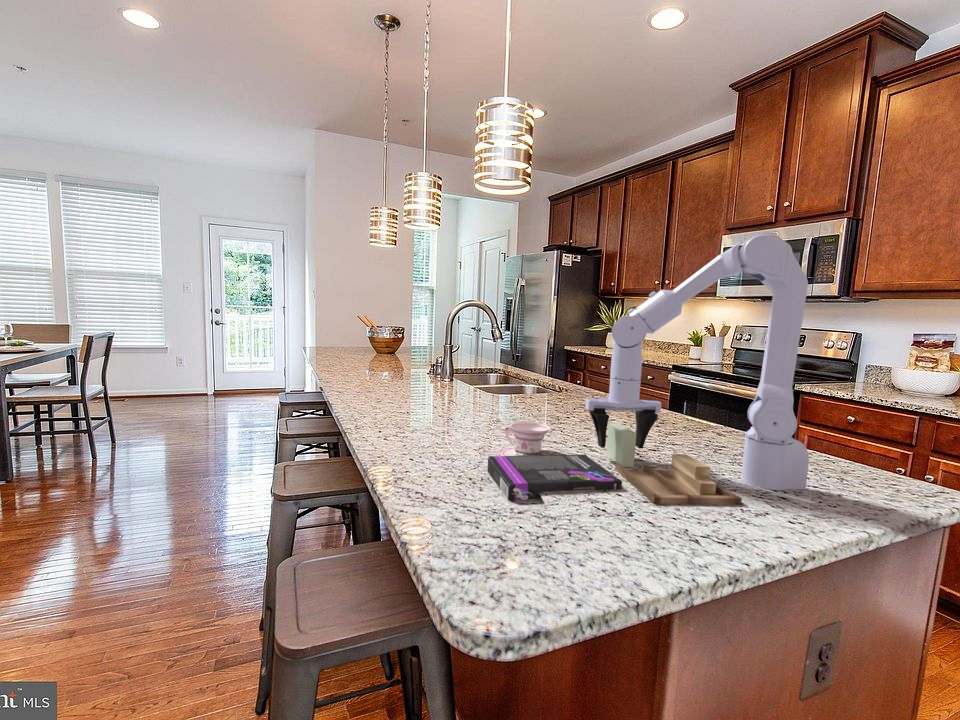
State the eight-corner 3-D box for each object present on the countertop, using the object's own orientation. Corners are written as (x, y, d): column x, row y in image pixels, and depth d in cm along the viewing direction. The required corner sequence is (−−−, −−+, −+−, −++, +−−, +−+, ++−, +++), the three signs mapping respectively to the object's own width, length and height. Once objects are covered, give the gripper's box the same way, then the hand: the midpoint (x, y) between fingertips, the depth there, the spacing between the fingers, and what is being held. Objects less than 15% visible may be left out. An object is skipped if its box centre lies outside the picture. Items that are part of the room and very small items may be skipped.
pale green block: (617, 456, 98) (620, 423, 97) (633, 469, 90) (636, 433, 89) (606, 456, 98) (608, 423, 97) (620, 469, 90) (623, 433, 89)
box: (507, 506, 74) (622, 499, 78) (507, 484, 73) (623, 478, 77) (486, 474, 87) (586, 469, 91) (487, 455, 87) (587, 451, 91)
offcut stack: (684, 474, 86) (686, 453, 86) (716, 495, 77) (718, 471, 76) (668, 474, 86) (670, 453, 86) (698, 495, 76) (700, 471, 76)
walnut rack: (686, 475, 89) (687, 465, 89) (740, 510, 73) (741, 498, 73) (614, 474, 88) (615, 464, 88) (653, 510, 72) (654, 497, 72)
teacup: (558, 451, 102) (560, 423, 102) (554, 468, 91) (556, 436, 90) (503, 445, 105) (505, 418, 104) (493, 461, 93) (494, 430, 93)
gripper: (652, 376, 97) (646, 441, 98) (582, 374, 96) (578, 440, 97) (668, 381, 90) (662, 451, 91) (594, 379, 89) (589, 450, 90)
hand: (620, 446), depth 94 cm, fingers open, 7 cm apart
